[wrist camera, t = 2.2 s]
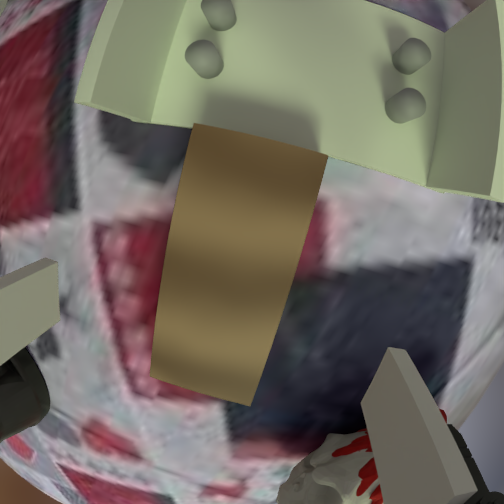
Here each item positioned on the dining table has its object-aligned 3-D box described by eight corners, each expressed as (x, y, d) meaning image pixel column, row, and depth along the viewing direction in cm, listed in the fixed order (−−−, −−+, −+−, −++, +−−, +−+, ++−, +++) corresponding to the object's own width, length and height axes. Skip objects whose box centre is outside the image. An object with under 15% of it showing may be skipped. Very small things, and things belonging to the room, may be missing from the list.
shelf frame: (134, 121, 18) (66, 102, 11) (179, -21, 15) (143, -78, 8) (440, 192, 18) (509, 205, 10) (457, 44, 15) (513, 8, 7)
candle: (270, 471, 25) (363, 358, 23) (356, 492, 25) (446, 395, 23) (270, 542, 16) (404, 424, 14) (372, 550, 16) (492, 447, 14)
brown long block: (255, 372, 23) (250, 406, 19) (167, 347, 23) (149, 376, 19) (318, 159, 18) (328, 155, 15) (210, 132, 19) (193, 122, 15)
